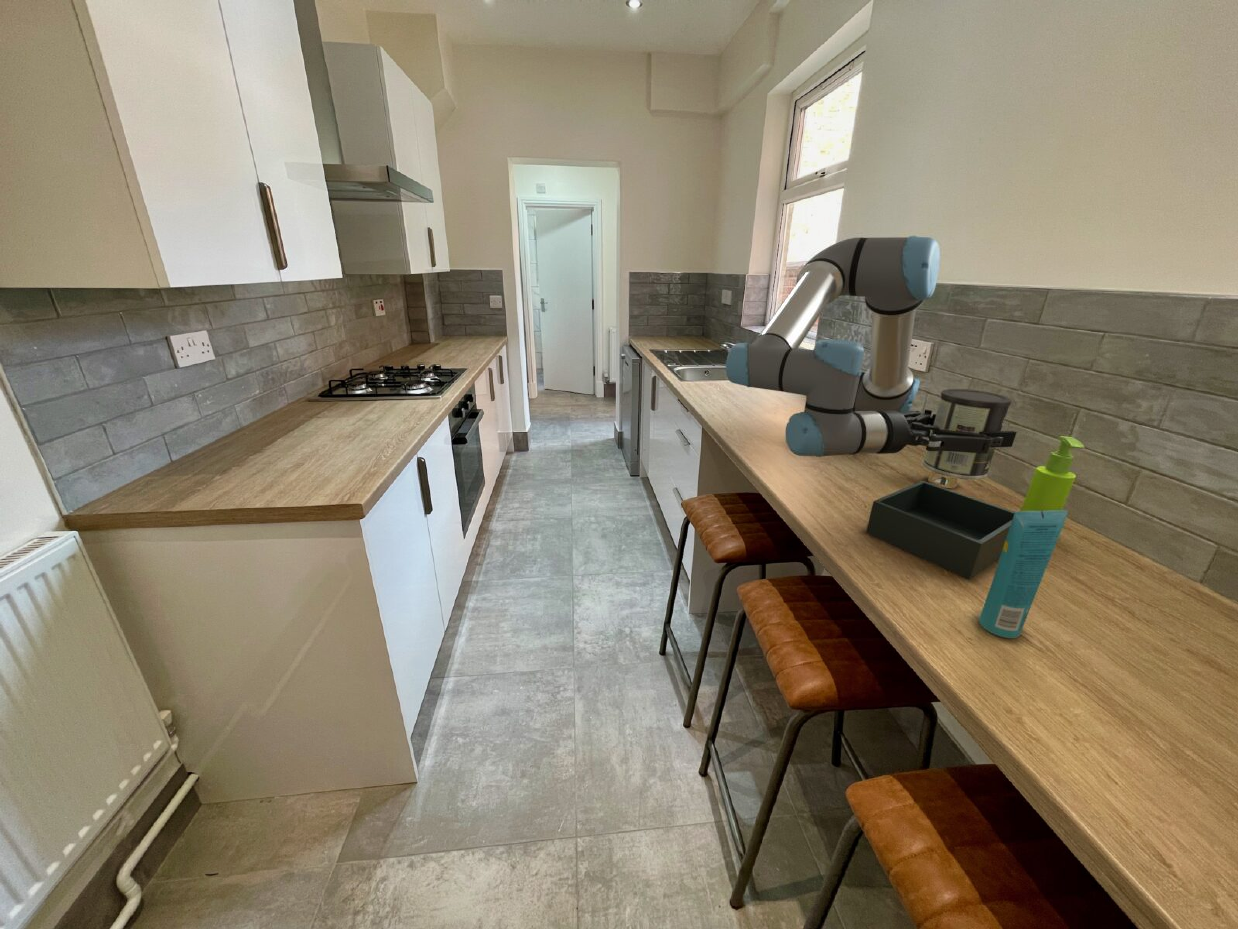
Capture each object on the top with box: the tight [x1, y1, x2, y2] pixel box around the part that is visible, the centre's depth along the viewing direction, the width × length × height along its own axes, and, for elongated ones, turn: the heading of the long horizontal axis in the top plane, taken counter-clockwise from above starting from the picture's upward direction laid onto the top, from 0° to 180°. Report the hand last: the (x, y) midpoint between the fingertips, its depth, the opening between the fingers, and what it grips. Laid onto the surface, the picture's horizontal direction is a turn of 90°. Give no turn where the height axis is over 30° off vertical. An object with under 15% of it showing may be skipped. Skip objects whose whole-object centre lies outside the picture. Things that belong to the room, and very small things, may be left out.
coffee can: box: [922, 388, 1013, 480], centre depth 88 cm, size 10×10×14 cm
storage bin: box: [865, 480, 1016, 580], centre depth 93 cm, size 19×19×7 cm
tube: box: [978, 509, 1069, 639], centre depth 68 cm, size 7×5×19 cm, turn 100°
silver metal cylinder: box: [927, 471, 958, 489], centre depth 117 cm, size 7×7×15 cm
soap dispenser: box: [1020, 435, 1085, 511], centre depth 94 cm, size 6×7×20 cm
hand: (986, 429), depth 89 cm, fingers closed on coffee can, 10 cm apart
